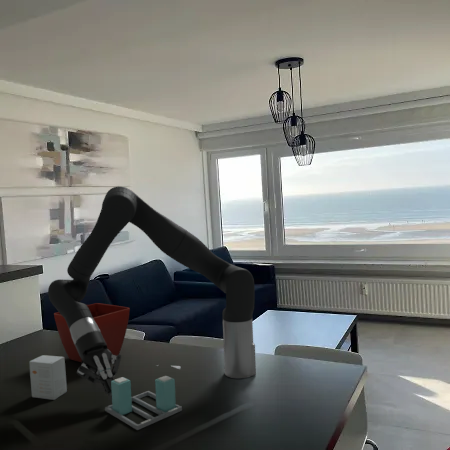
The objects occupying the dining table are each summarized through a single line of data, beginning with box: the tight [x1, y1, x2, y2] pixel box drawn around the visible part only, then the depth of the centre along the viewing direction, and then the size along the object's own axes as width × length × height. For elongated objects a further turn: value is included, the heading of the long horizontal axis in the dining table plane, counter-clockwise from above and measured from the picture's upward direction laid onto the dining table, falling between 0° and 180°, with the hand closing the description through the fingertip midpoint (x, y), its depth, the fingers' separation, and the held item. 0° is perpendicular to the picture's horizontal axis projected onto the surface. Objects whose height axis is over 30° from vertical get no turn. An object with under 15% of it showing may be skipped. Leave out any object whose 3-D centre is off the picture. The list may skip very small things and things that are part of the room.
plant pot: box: [53, 302, 131, 363], centre depth 161 cm, size 19×19×17 cm
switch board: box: [104, 390, 183, 431], centre depth 116 cm, size 15×14×2 cm
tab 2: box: [154, 375, 177, 413], centre depth 115 cm, size 4×4×8 cm
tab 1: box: [111, 376, 133, 416], centre depth 115 cm, size 4×4×8 cm
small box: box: [29, 354, 68, 401], centre depth 130 cm, size 8×6×10 cm
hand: (112, 393), depth 118 cm, fingers closed
